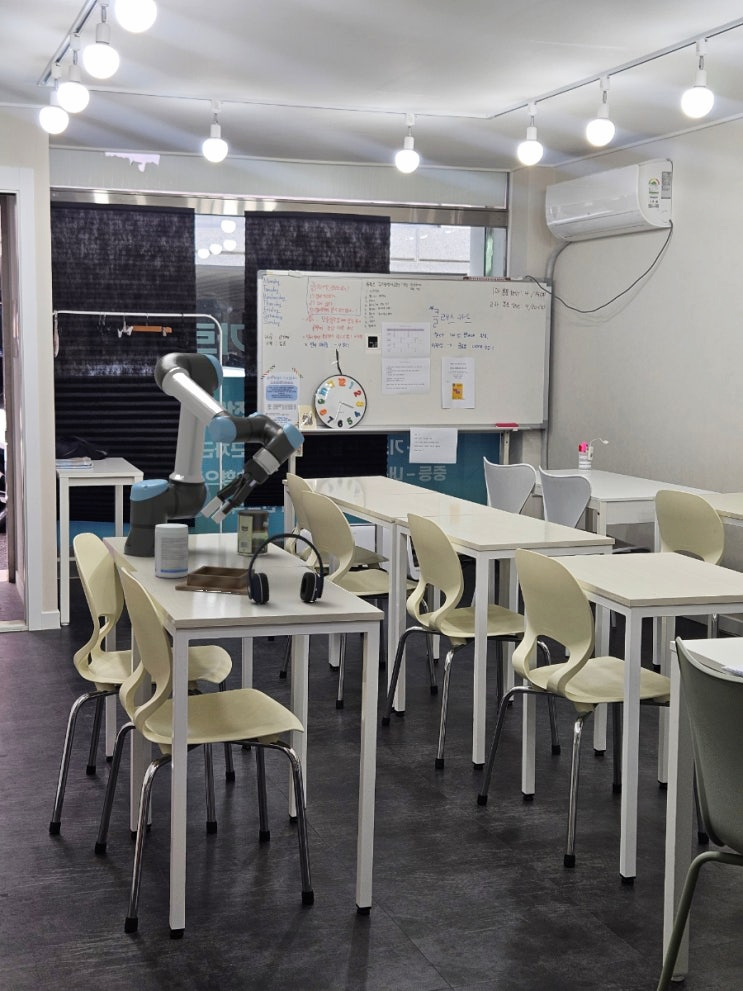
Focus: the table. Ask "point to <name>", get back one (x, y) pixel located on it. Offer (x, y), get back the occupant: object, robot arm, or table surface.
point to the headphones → (309, 584)
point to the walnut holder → (217, 580)
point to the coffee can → (252, 532)
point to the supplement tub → (171, 550)
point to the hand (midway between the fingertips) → (209, 518)
